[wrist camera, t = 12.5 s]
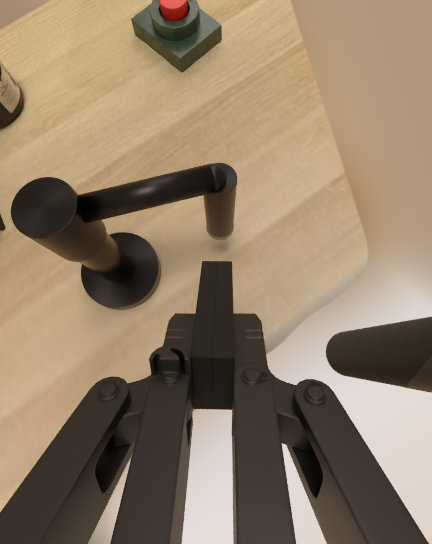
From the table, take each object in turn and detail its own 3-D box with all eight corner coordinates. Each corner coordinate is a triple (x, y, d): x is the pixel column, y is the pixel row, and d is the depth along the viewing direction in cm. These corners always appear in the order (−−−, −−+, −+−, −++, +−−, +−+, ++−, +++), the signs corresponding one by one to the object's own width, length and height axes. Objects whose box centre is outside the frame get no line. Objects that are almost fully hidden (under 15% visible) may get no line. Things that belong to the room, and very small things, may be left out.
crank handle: (86, 282, 32) (13, 245, 21) (79, 241, 33) (7, 185, 22) (238, 244, 33) (247, 188, 22) (227, 205, 34) (229, 133, 23)
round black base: (176, 271, 39) (156, 237, 27) (119, 325, 37) (73, 313, 26) (126, 222, 40) (88, 170, 29) (70, 272, 39) (6, 238, 27)
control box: (221, 39, 47) (221, 11, 43) (181, 72, 46) (178, 46, 42) (174, 3, 49) (170, -27, 45) (134, 33, 48) (127, 5, 44)
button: (193, 11, 44) (192, -3, 42) (174, 26, 43) (172, 13, 42) (175, -3, 44) (173, -17, 43) (155, 12, 44) (153, -2, 42)
